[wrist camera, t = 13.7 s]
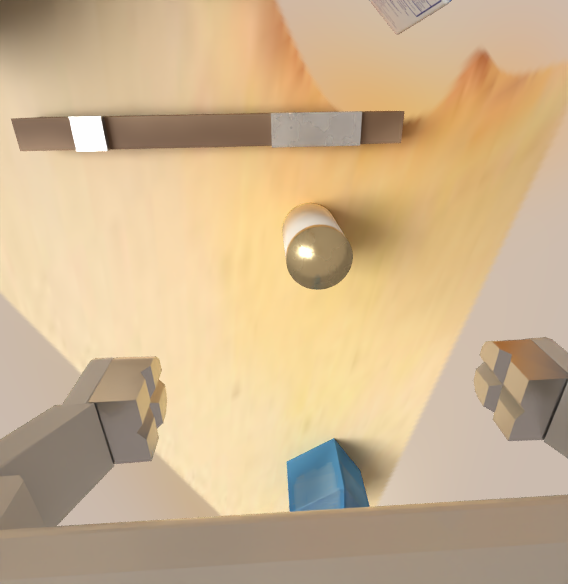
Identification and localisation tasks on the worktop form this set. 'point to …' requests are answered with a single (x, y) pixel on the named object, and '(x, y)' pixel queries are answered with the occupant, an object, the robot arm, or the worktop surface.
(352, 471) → the perfume bottle
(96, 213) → the worktop surface
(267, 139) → the walnut fence
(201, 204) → the worktop surface
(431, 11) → the medicine box
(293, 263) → the round canister
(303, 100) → the worktop surface
